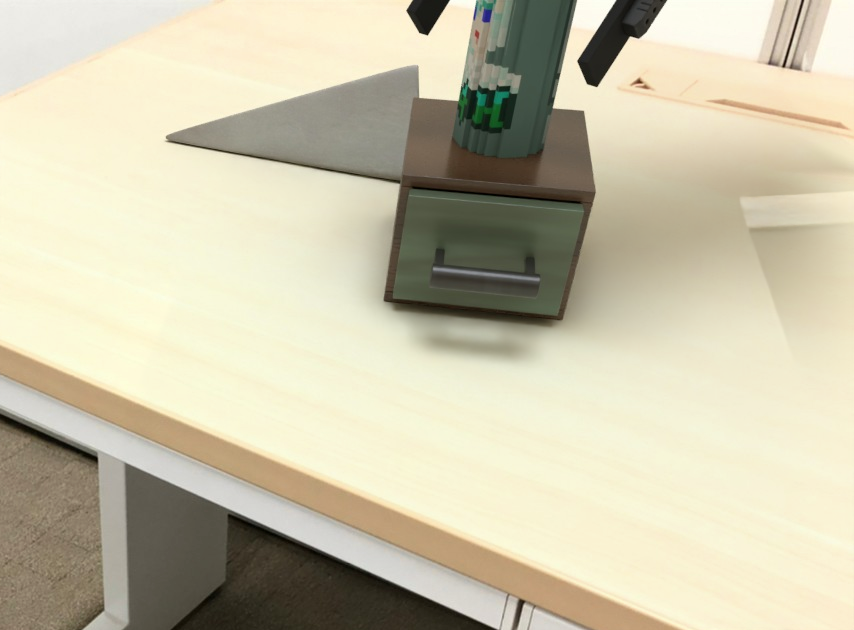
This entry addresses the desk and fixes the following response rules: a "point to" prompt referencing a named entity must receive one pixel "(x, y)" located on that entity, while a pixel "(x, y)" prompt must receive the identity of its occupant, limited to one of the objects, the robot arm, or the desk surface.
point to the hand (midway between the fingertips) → (497, 48)
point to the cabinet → (493, 175)
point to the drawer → (486, 250)
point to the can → (512, 75)
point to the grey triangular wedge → (324, 126)
